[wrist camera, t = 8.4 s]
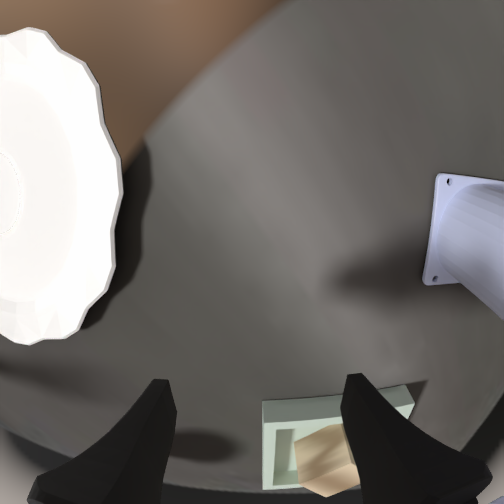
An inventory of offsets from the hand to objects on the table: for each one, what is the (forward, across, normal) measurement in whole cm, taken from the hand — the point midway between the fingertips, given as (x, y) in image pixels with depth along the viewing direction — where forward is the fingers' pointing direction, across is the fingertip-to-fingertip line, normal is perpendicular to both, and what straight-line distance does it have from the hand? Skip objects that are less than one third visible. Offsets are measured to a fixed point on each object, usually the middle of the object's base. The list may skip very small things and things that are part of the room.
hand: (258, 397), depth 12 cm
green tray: (+9, -7, +17) cm, 21 cm away
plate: (+10, +20, -8) cm, 24 cm away
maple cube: (+9, -7, +17) cm, 20 cm away
